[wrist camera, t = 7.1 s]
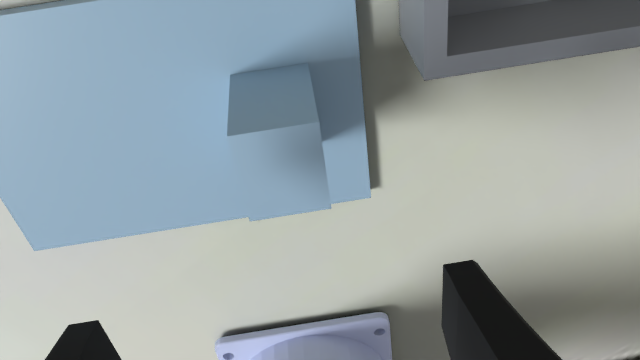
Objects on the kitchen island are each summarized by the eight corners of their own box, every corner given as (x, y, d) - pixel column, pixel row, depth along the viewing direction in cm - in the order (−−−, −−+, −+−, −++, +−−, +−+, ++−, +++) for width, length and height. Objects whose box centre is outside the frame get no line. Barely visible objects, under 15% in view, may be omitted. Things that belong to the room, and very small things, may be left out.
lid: (366, 181, 21) (389, 264, 18) (42, 232, 21) (2, 326, 18) (346, -50, 16) (374, 6, 12) (-88, 17, 16) (-182, 93, 12)
